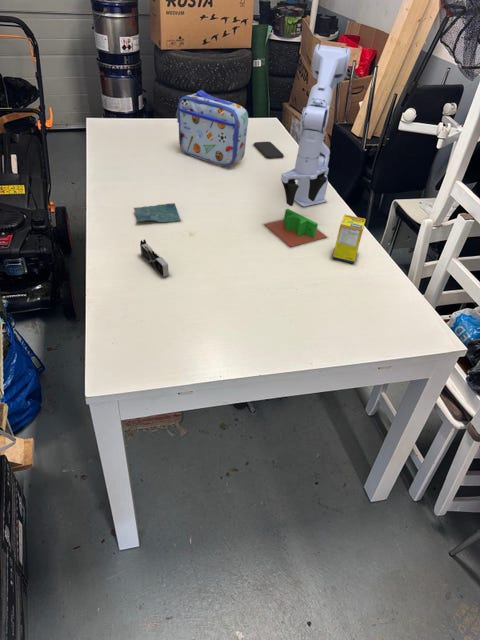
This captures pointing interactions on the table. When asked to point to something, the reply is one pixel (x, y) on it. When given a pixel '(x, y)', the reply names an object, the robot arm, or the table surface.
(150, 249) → the graphics card
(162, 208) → the terrain model
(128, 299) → the table surface
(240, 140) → the lunch box
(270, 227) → the napkin
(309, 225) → the pipe clamp
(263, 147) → the phone
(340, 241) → the supplement box
